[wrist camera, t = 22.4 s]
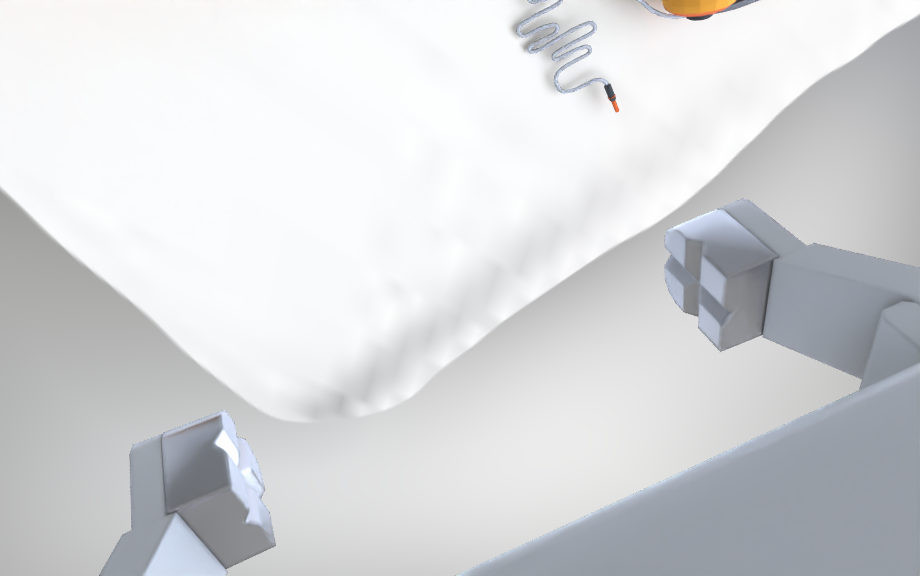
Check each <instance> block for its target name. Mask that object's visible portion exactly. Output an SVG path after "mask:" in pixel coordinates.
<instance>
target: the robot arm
mask: <svg viewBox="0 0 920 576" xmlns="http://www.w3.org/2000/svg"><path fill="white" fill-rule="evenodd" d="M665 248H666V249H667V250H668V251H669V252H670V253H671V256H670V257H669V259H668V261H667V262H666V264H665V281H666V284H667V286H668V289H669V293H670V294H671V296H672V298H673V299H674V301H675V303H676V304H677V305H678V306H679V307H680V308H681V310H682V311H683V312H685V313H688V314H691V315H694V316H698V317H699V321H698V328H699V329H700V330H701V331H702V333H703V334H705V336H706V337H707V338H708V339H709V340H710V341H711V342H712V343H713V344H714V345H715V346H716V347H717V349H718V350H719V351H720V352H721V351H724V350H726V349H729V348H731V347H734V346H736V345H739V344H741V343H743V342H746V341H748V340H751V339H753V338H756V337H758V336H761V335H763V338H766V339H768V340H770V341H773V342H775V343H778V344H780V345H782V346H785V347H787V348H789V349H792V350H794V351H797V352H799V353H801V354H804V355H806V356H808V357H811V358H813V359H815V360H818V361H820V362H822V363H825V364H827V365H830V366H832V367H834V368H836V369H839V370H841V371H843V372H846V373H848V374H850V375H853V376H855V377H858V378H860V379H862V382H861V386H860V389H859V391H856V392H854V393H852V394H850V395H848V396H846V397H843V398H841V399H839V400H837V401H835V402H833V403H830V404H828V405H826V406H824V407H821V408H819V409H817V410H815V411H813V412H811V413H808V414H806V415H804V416H802V417H800V418H798V419H795V420H793V421H791V422H789V423H787V424H784V425H782V426H780V427H778V428H776V429H774V430H771V431H769V432H767V433H765V434H763V435H760V436H758V437H756V438H754V439H752V440H750V441H748V442H745V443H743V444H741V445H739V446H737V447H735V448H732V449H730V450H728V451H726V452H724V453H722V454H719V455H717V456H715V457H713V458H710V459H708V460H706V461H704V462H702V463H700V464H698V465H695V466H693V467H691V468H689V469H687V470H684V471H682V472H680V473H678V474H676V475H674V476H671V477H669V478H667V479H665V480H663V481H661V482H658V483H656V484H654V485H652V486H650V487H648V488H645V489H643V490H641V491H639V492H637V493H635V494H633V495H630V496H628V497H626V498H624V499H621V500H619V501H617V502H615V503H613V504H610V505H608V506H606V507H604V508H602V509H600V510H597V511H595V512H593V513H591V514H589V515H587V516H584V517H582V518H580V519H578V520H576V521H573V522H571V523H569V524H567V525H565V526H563V527H560V528H558V529H556V530H554V531H552V532H549V533H547V534H545V535H543V536H541V537H539V538H536V539H534V540H532V541H530V542H528V543H525V544H523V545H521V546H519V547H517V548H514V549H512V550H510V551H508V552H506V553H504V554H502V555H499V556H497V557H495V558H493V559H490V560H488V561H486V562H484V563H482V564H480V565H477V566H475V567H473V568H471V569H469V570H467V571H464V572H462V573H460V574H458V575H456V576H920V268H919V267H915V266H910V265H906V264H902V263H898V262H893V261H889V260H885V259H881V258H876V257H872V256H867V255H863V254H859V253H854V252H850V251H846V250H842V249H837V248H833V247H829V246H825V245H820V244H816V243H813V244H810V245H808V246H806V245H805V244H804V243H803V242H801V241H800V240H799V239H798V238H796V237H795V236H794V235H793V234H791V233H790V232H789V231H787V230H786V229H785V228H783V227H782V226H781V225H780V224H779V223H777V222H776V221H775V220H774V219H772V218H771V217H770V216H769V215H767V214H766V213H765V212H763V211H762V210H761V209H760V208H759V207H757V206H756V205H755V204H753V203H752V202H751V201H749V200H747V199H740V200H737V201H735V202H732V203H730V204H728V205H725V206H723V207H720V208H718V209H717V210H713V211H711V212H708V213H706V214H704V215H701V216H699V217H696V218H694V219H692V220H689V221H687V222H684V223H682V224H680V225H677V226H675V227H672V228H670V229H668V231H667V233H666V235H665ZM129 456H130V489H131V490H130V491H131V523H132V524H131V527H132V530H131V531H129V532H127V533H125V534H123V535H122V536H121V538H120V540H119V541H118V543H117V545H116V547H115V549H114V550H113V552H112V554H111V555H110V557H109V559H108V561H107V562H106V564H105V566H104V568H103V569H102V571H101V573H100V575H99V576H226V575H227V570H226V569H227V568H229V567H232V566H234V565H236V564H238V563H240V562H242V561H244V560H247V559H249V558H251V557H253V556H255V555H257V554H259V553H262V552H264V551H266V550H268V549H270V548H272V547H274V546H276V544H275V539H274V533H273V528H272V523H271V518H270V512H269V511H268V509H267V508H266V506H265V505H264V503H263V502H262V501H261V498H262V495H263V493H264V491H265V487H264V483H263V478H262V474H261V471H260V468H259V465H258V462H257V459H256V457H255V455H254V453H253V451H252V449H251V447H250V446H249V444H248V443H247V441H246V439H244V438H241V437H238V436H237V433H236V428H235V423H234V422H233V420H232V419H231V417H230V416H229V414H228V413H227V412H226V411H219V412H217V413H214V414H212V415H209V416H206V417H204V418H201V419H198V420H196V421H193V422H191V423H188V424H185V425H183V426H180V427H177V428H175V429H172V430H169V431H167V432H164V433H163V434H161V435H158V436H155V437H153V438H150V439H147V440H145V441H142V442H139V443H137V444H134V445H133V446H132V449H131V451H130V454H129Z"/></svg>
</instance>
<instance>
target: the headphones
mask: <svg viewBox="0 0 920 576" xmlns="http://www.w3.org/2000/svg"><path fill="white" fill-rule="evenodd" d="M527 1H528V2H529V3H531V4H536V3H541V2H545V1H547V0H527ZM562 1H563V0H559V1H558V2H557V3H555V4H553V5H552V6H550V7H548V8H546V9H544V10H542V11H540V12H538V13H536V14H534V15H532V16H531V17H529V18H527V19H526V20H524V21H523V22H521V23H520V24H519V25H518V26H517V28H516V32H517V34H518V35H519V37H521V38H525V37H528V36H530V35H532V34H534V33H536V32H538V31H540V30H543V29H546V28H550V27H555V31H554V32H552V33H551V34H549V35H547V36H545V37H543V38H541V39H539V40H537V41H535V42H533V43H532V44H530V45H529V46H528V48H527V51H528V52H529V53H532V54H533V53H537V52H540V51H542V50H543V49H545V48H547V47H548V46H550V45H552V44H553V43H555V42H557V41H558V40H560V39H562V38H563V37H565V36H567V35H568V34H570V33H572V32H573V31H575V30H578V29H580V28H582V27H584V26H587V25H592V26H593V30H592V31H590V32H589V33H587V34H585V35H583V36H582V37H580V38H578V39H576V40H574V41H572V42H570V43H568V44H567V45H565V46H563V47H561V48H560V49H558V50H557V51H555V52H554V53H553V54H552V57H551V58H552V60H553V61H558V60H561V59H563V58H564V57H566V56H568V55H570V54H572V53H574V52H577V51H579V50H582V49H588V52H587V53H586V54H584V55H582V56H580V57H578V58H576V59H574V60H572V61H571V62H569V63H567V64H565V65H564V66H562V67H561V68H560V69H559V70H558V71H557V72H556V74H555V76H554V84H555V87H556V88H557V90H558V91H559V92H561V93H570V92H574V91H577V90H579V89H581V88H583V87H586V86H588V85H590V84H592V83H594V82H598V81H600V82H603V83H604V84H605V86H604V88H605V90H606V93H607V95H608V99H609V100H610V101H611V102H612V104H613V107H614V109H615V112H619V108H618V106H617V103H616V101H615V99H616V97H615V94H614V92H613V89H612V87H611V85H610V84H609V83H608V82H607V81H606V80H605V79H603V78H595V79H592V80H590V81H588V82H586V83H584V84H582V85H580V86H578V87H576V88H572V89H569V90H563V89H561V87H560V86H559V84H558V81H557V78H558V75H559V74H560V73H561V71H563V70H564V69H566V68H567V67H569V66H570V65H572V64H574V63H576V62H577V61H579V60H581V59H583V58H585V57H587V56H589V55H590V54H591V52H592V48H591V46H589V45H582V46H580V47H577V48H575V49H572V50H570V51H568V52H566V53H565V54H563V55H561V56H559V57H556V58H555V56H556V55H557V54H558V53H560V52H562V51H563V50H565V49H567V48H568V47H570V46H572V45H574V44H575V43H577V42H579V41H581V40H583V39H585V38H587V37H589V36H591V35H592V34H594V33H595V32H596V29H597V26H596V24H595V23H594V22H593V21H588V22H585V23H582V24H580V25H578V26H576V27H573V28H571V29H570V30H568V31H566V32H565V33H563V34H561V35H560V36H558V37H556V38H555V39H553V40H551V41H550V42H548V43H546V44H545V45H543V46H541V47H540V48H537V49H534V50H531V48H532V47H534V46H535V45H537V44H539V43H541V42H543V41H545V40H547V39H549V38H551V37H553V36H554V35H556V34H557V33H558V31H559V26H558V24H557V23H550V24H546V25H543V26H540V27H538V28H536V29H534V30H532V31H530V32H528V33H526V34H522V33H521V32H520V28H521V27H522V26H523V25H525V24H526V23H528V22H530V21H531V20H533V19H534V18H536V17H538V16H540V15H542V14H544V13H546V12H548V11H550V10H552V9H554V8H556V7H557V6H559V5H560V4H561V3H562ZM637 1H638V2H640V3H641V4H642V5H643V6H644V7H645V8H647V9H648V10H649V11H650V12H652V13H654V14H656V15H658V16H662V17H665V18H672V19H678V18H684V17H686V18H687V19H689V20H694V21H696V20H704V19H707V18H709V17H711V16H712V15H713V14H716V13H721V12H726V11H730V10H733V9H737V8H740V7H743V6H745V5H748V4H751V3H753V2H756V1H759V0H662V3H663V6H664V8H665V10H666V11H668V12H670V13H672V14H675V15H671V14H666V13H662V12H659V11H657V10H656V9H654V8H652V7H651V6H649V5H648V4H647V3H646V2H645V1H644V0H637Z"/></svg>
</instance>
